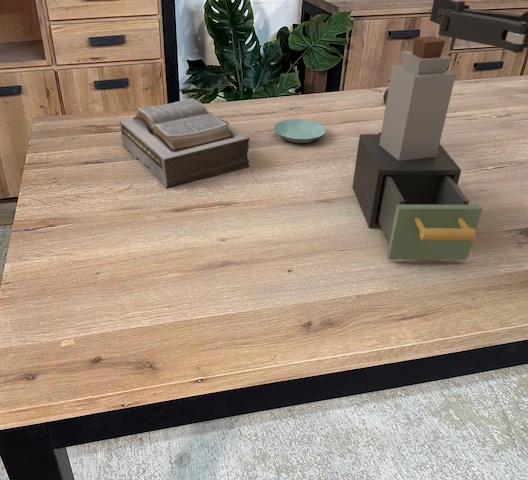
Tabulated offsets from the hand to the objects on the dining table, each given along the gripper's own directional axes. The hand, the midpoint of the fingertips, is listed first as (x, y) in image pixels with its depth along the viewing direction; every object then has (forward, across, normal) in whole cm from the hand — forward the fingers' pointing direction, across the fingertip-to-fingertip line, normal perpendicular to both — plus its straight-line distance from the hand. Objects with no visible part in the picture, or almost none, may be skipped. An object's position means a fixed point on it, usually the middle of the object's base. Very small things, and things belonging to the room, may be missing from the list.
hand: (487, 5), depth 66 cm
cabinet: (+13, 0, -36) cm, 38 cm away
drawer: (-1, -2, -35) cm, 35 cm away
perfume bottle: (+13, 0, -25) cm, 28 cm away
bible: (+41, -35, -36) cm, 65 cm away
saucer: (+47, -8, -36) cm, 59 cm away
